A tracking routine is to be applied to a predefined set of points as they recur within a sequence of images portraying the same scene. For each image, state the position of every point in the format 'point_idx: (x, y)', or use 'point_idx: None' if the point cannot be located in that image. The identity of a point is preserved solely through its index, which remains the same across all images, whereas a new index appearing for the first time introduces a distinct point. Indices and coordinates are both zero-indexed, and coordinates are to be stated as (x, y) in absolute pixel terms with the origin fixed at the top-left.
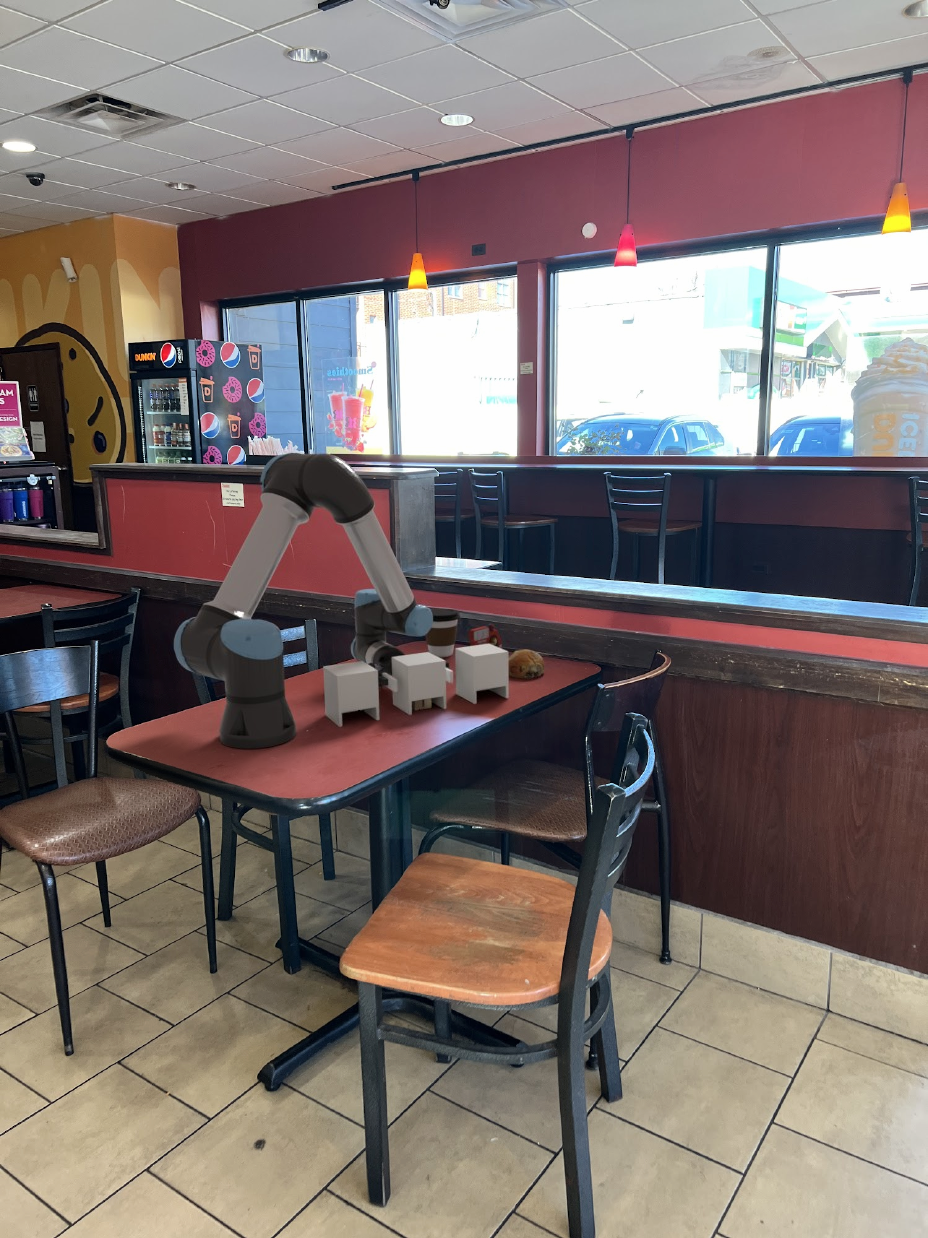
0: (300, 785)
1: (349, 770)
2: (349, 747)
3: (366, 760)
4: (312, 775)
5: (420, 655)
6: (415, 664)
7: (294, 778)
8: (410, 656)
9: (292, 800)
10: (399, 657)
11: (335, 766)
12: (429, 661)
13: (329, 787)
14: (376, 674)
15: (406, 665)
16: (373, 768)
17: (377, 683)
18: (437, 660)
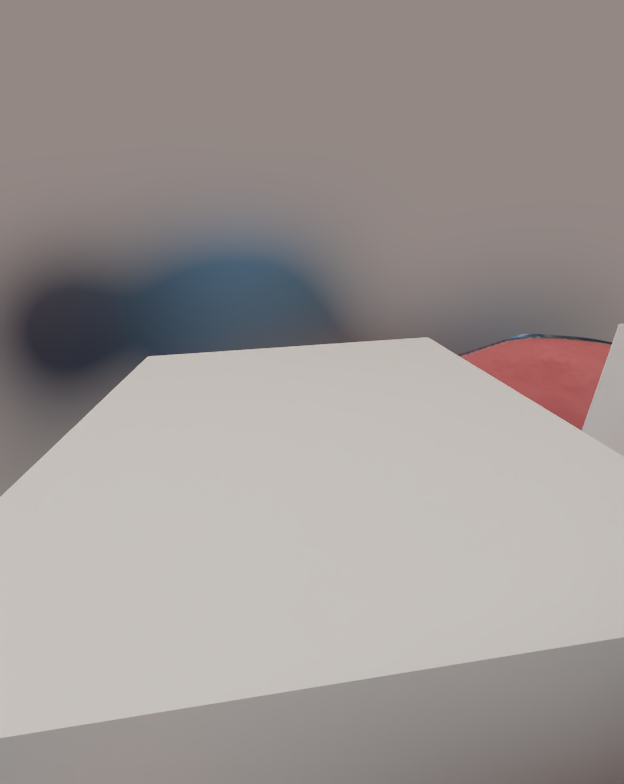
0: (576, 350)
1: (515, 362)
2: (557, 410)
3: (495, 375)
4: (574, 361)
5: (193, 516)
6: (374, 344)
7: (601, 360)
8: (381, 512)
9: (563, 337)
10: (594, 511)
11: (547, 371)
12: (254, 361)
13: (527, 345)
14: (619, 347)
15: (438, 345)
16: (475, 361)
17: (596, 395)
18: (188, 364)
